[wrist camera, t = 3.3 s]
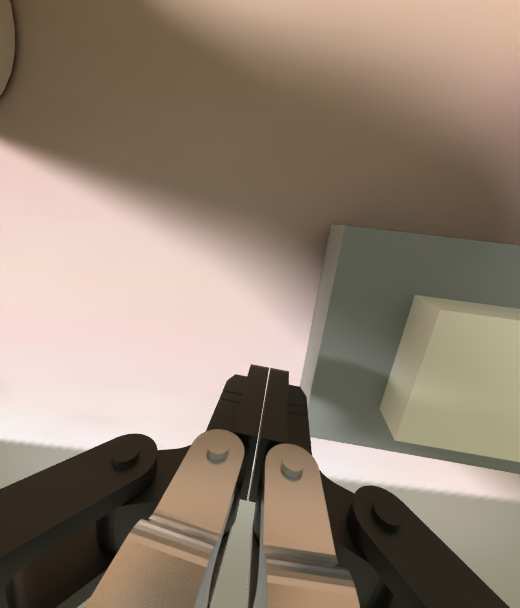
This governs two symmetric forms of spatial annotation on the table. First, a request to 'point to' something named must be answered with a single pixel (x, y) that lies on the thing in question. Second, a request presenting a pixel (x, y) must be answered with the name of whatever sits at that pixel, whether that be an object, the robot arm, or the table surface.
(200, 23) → the table surface
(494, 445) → the ivory tile
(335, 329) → the gray board
